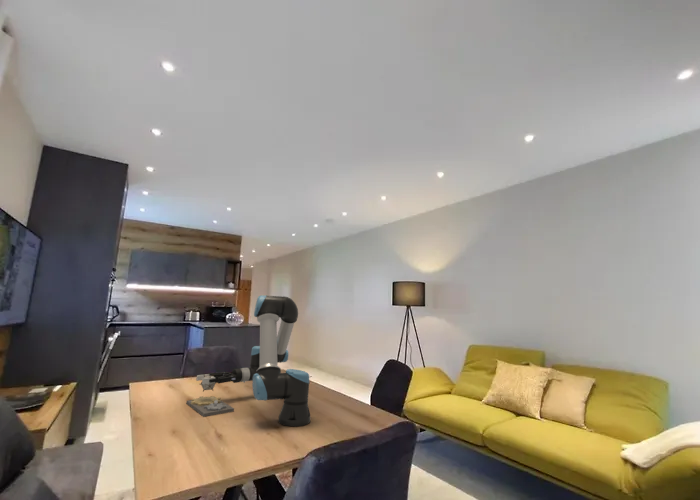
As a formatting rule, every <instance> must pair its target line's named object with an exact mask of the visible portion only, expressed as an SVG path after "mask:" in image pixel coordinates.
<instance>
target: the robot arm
mask: <svg viewBox="0 0 700 500" xmlns="http://www.w3.org/2000/svg"><path fill="white" fill-rule="evenodd" d="M253 316H254V317H255V318H256V321H257V322H258V323H259V345H254V346H253V347H252V348H251V352H250V362H249V363H250V364H249V367H242V368H241V367H240V368H234V369H232V371H231V372H230V371H229V372H227V371H223V372H208V373H206V374H198V375H196V379H195V381H196V382H197V381H201V382H202V384H209V383H216V384H223V383H230V382H232V383H233V384H236V383H238V384H239V383H244V384H245V383H246V382H252V394H253V397H254V399H255V400H257V401H265V402H266V401H273V400H283V405H282V408H281V410H280V412H279V415H278V423H279V424H281V425H282V426H286V427H287V426H288V427H302V426H306V425H308V424H311V413H310V407H309V390H310V389H309V388H310V383H311V382H310V373H308V372H306V371H305V370H300V369H294V368H289V369H286V371H285V372H281V371H282V370H281V367H280V366H279V365H278V363H280V364H281V363H286V362H288V360H289V351H288V345H289V342H290V339H291V335H292V332H293V328H294V325H295V323H296V322H297V321H298V318H299V310H298V307H297V304H296V302H295V301H294V300H293V299H292V298H290V297H289V296H284V295H283V296H281V295H278V296H277V295H259V296H258V297H257V299H256V302H255V306H254V311H253ZM280 320H281V321H280ZM279 321H280V323H279V328H278V329H277V322H279ZM204 375H205V376H213V375H214V377H212V378H204Z"/></svg>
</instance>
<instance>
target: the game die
mask: <svg viewBox="0 0 700 500" xmlns="http://www.w3.org/2000/svg"><path fill="white" fill-rule="evenodd" d="M203 375H204V378H212V377H214V375H213V376H205V374H203ZM216 384H217V383H209V384H202V381H201V383H199V385H200V386H201V388H202V389H203V390H202V392H204V391H210V390H212V391H214V387H215V385H216Z"/></svg>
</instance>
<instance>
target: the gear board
mask: <svg viewBox="0 0 700 500" xmlns="http://www.w3.org/2000/svg"><path fill="white" fill-rule="evenodd" d="M186 405H187V406H189V407H190V408H191V409H193V410H194V411H195V412H196V413H198V414H199V415H201V417H203V418H205V417H206V418H207V417H211V416H217V415H221V414H222V415H223V414H227V413H233V412H235V408H234V407H233V406H231V405H230V404H228V403H226V402H224V401H223V400H221V397H216V396H214V395H211V396H204V395H203V396H199V397H198V398H192V399H189V400H186Z"/></svg>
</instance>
